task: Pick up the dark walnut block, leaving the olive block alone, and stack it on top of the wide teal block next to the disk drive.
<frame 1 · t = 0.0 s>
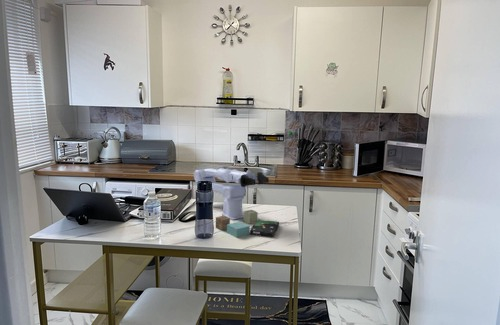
hand: (261, 181, 168), 22 cm above the table, tool horizontal, fingers open, 7 cm apart
disk drive: (264, 231, 170), on the table
walnut block: (222, 228, 170), on the table
olive block: (250, 221, 180), on the table
teal block: (238, 234, 165), on the table
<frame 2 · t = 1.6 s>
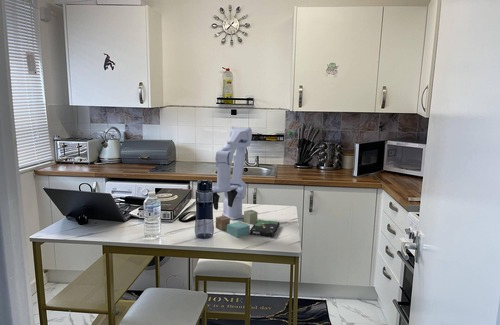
hand: (223, 207, 169), 9 cm above the table, tool pointing down, fingers open, 7 cm apart
nothing on the table moved.
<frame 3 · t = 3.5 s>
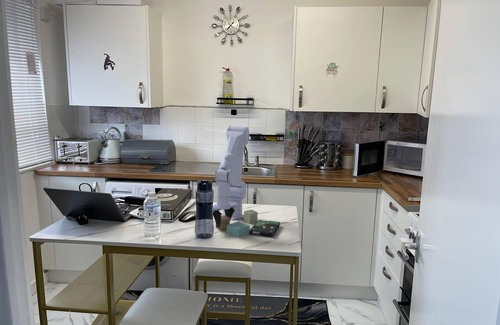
hand: (222, 225, 170), 1 cm above the table, tool pointing down, fingers closed on walnut block, 4 cm apart
walnut block: (222, 228, 170), on the table, touching gripper
everything else where it was.
when the fingers open (6 cm above the table, at t = 6.4 s): walnut block drops 1 cm, resting on teal block.
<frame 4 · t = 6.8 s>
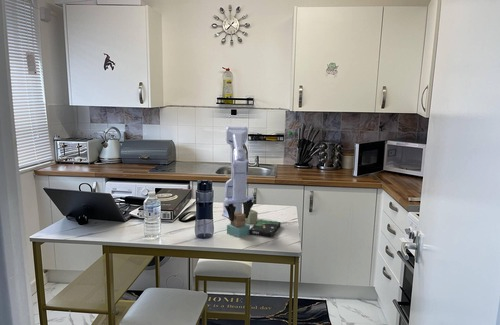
hand: (238, 219, 164), 6 cm above the table, tool pointing down, fingers open, 7 cm apart
walnut block: (237, 225, 164), point 4 cm above the table, touching teal block
teal block: (238, 234, 165), on the table, touching walnut block
everything else where it was.
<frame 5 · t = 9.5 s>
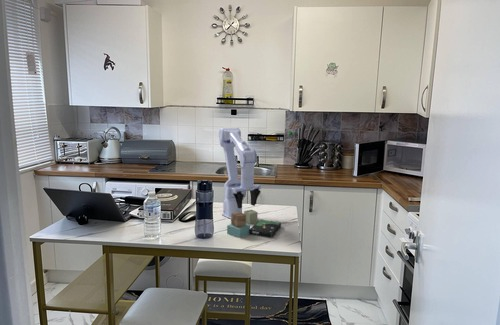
hand: (246, 206, 172), 9 cm above the table, tool pointing down, fingers open, 7 cm apart
nothing on the table moved.
at the end: walnut block 0.2 cm off-centre on the teal block, point 4.0 cm above the teal block's base; walnut block tilted 0°; the gripper is holding nothing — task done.
